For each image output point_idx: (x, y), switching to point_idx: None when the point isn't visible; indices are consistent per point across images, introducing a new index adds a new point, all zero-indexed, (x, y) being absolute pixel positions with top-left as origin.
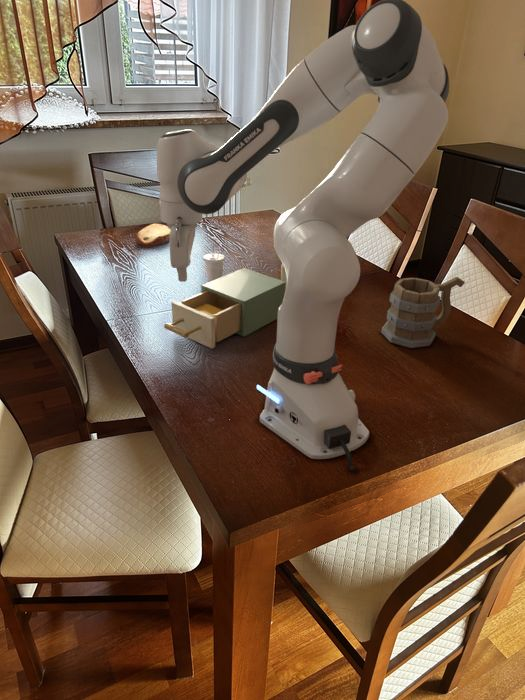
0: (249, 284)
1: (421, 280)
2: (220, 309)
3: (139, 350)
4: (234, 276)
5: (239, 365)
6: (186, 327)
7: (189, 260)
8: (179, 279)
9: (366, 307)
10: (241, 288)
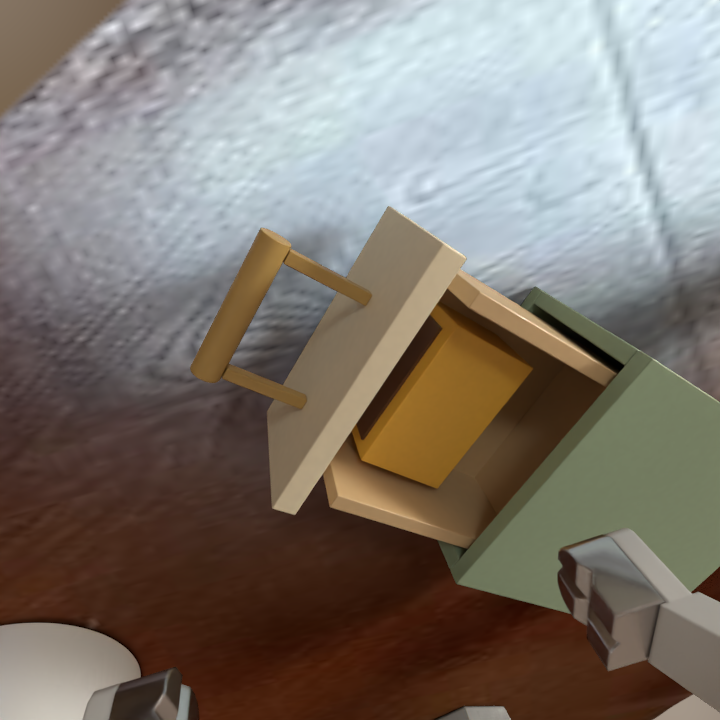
0: None
1: None
2: (470, 444)
3: (176, 74)
4: None
5: (205, 505)
6: (347, 308)
7: (594, 644)
8: (88, 717)
9: (597, 657)
10: (594, 534)
